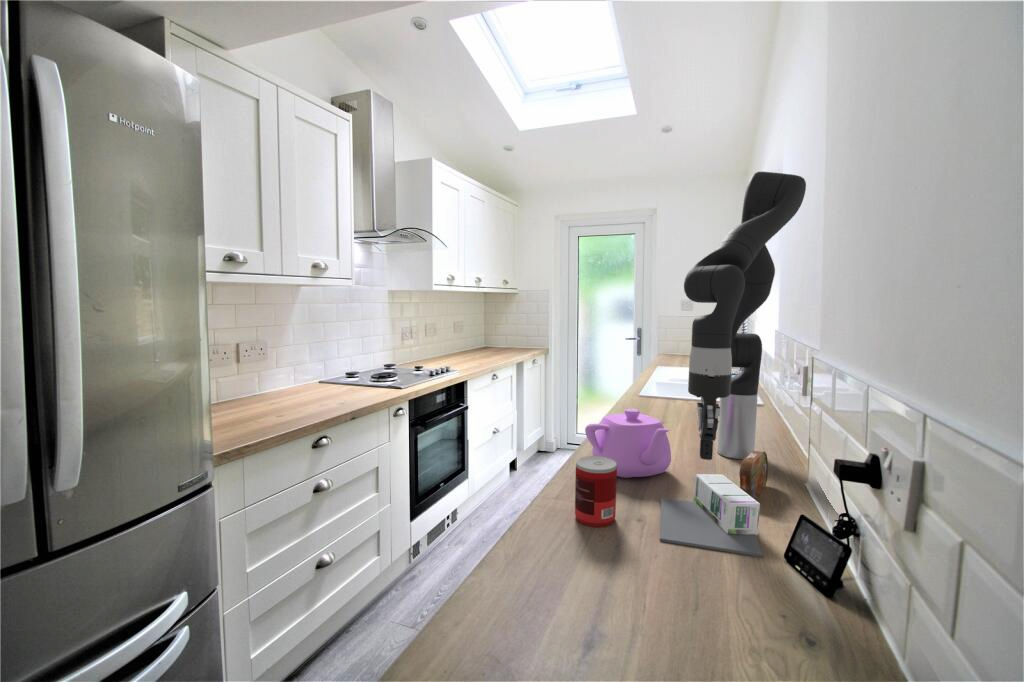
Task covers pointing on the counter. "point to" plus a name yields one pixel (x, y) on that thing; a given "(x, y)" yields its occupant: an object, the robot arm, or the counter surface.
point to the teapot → (631, 443)
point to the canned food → (595, 491)
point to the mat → (701, 529)
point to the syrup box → (727, 504)
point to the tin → (754, 473)
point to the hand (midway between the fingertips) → (705, 458)
